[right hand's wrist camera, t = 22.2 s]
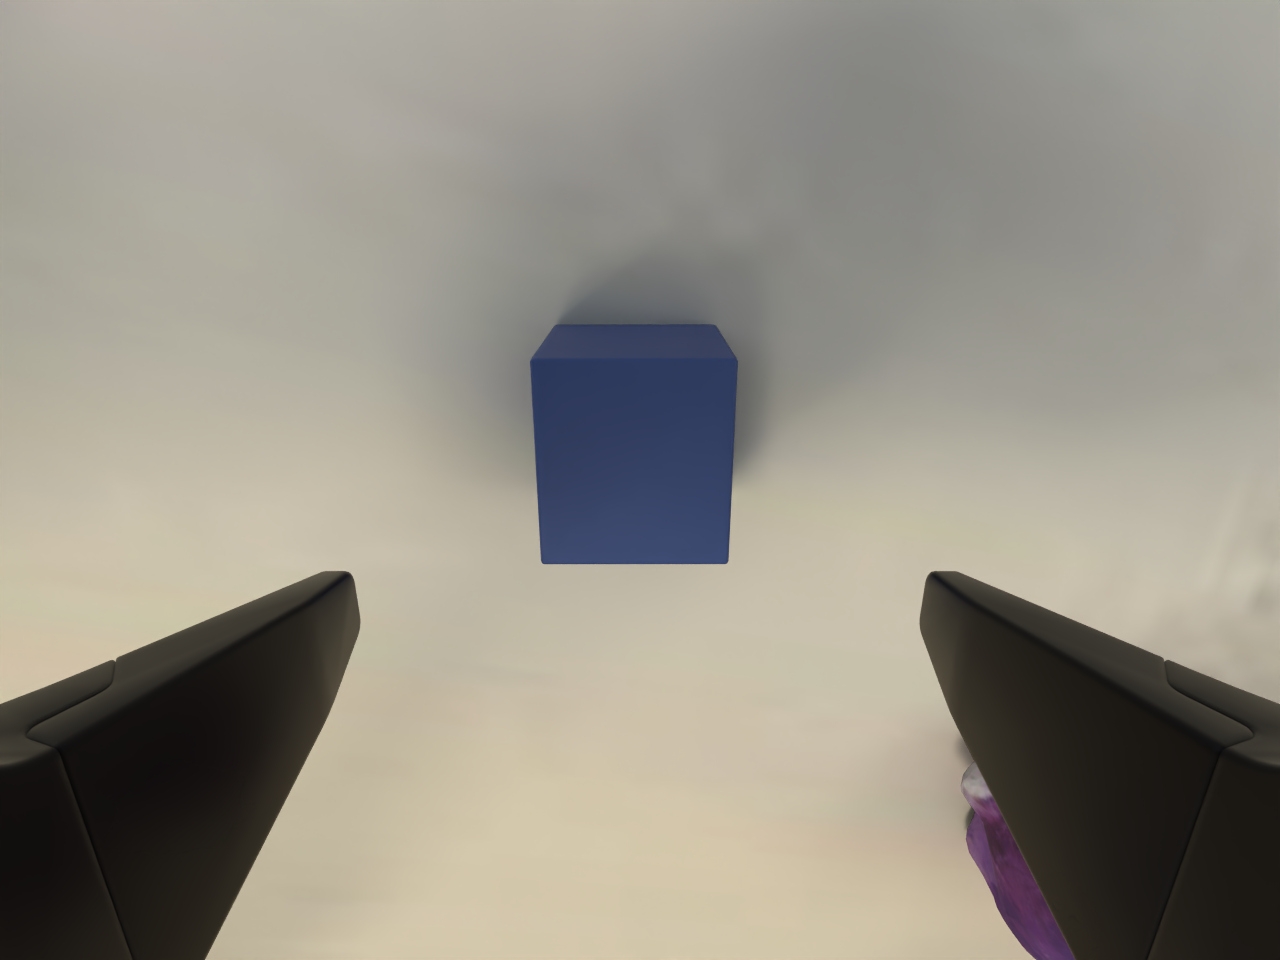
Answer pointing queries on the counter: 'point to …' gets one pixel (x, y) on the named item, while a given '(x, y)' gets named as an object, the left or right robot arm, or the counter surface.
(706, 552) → the blue cube
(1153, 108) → the counter surface
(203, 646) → the right robot arm
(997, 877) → the figurine
